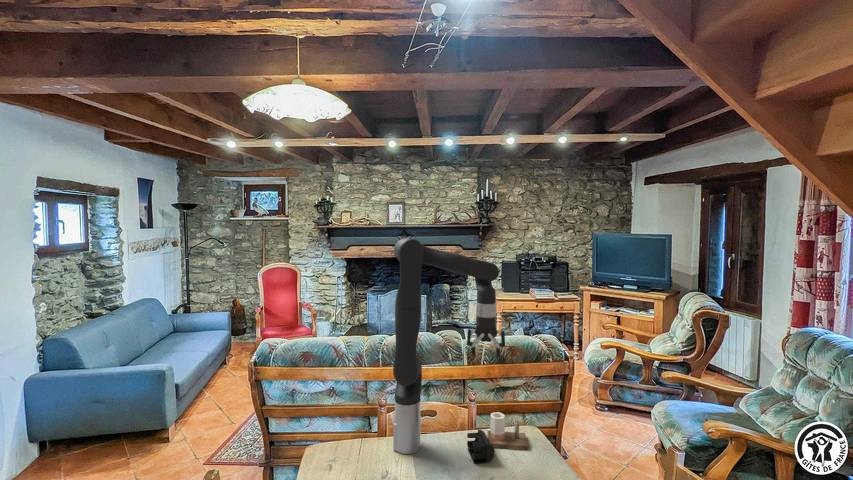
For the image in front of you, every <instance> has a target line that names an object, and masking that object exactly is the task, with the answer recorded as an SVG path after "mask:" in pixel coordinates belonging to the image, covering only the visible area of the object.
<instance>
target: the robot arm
mask: <svg viewBox="0 0 853 480" xmlns="http://www.w3.org/2000/svg"><path fill="white" fill-rule="evenodd" d="M393 254H394V256H395V258H396V260H398V262H399V273H400V276H399V283H398V288H397V292H396V297H395V300H394V301H395V303H394V305H395V307H394V323H395V324H394V327H395V330H394V331H395V333H394V335H395V351H394V361H393V366H392V373H393V374H392V375H393V377H394V380H395V381H396V385H395V386H396V387H395V392H394V422H393V424H392V426H393V428H392V430H393V432H392V433H393V435H392V436H393V443H392V445H393V446H392V447H393V452H398V453H399V454H403V455H411V454H415V453H417V452H418V451H420V449H421V394H422V386H423V384H422V381H423V380H422V379H423V378H422V377H423V376H422V375H423V365H422V361H421V359H420V357H419V356H417V345H418V344H417V343H418V338H419V334H420V327H421V321H422V283H421V281H422V279H421V277H422V269H423V265H428V266H432V267H435V268H437V269H441V270H444V271H447V272H449V273H453V274H457V275H461V276H469V277H472V278H474V282H475V287H476V309H475V315H476V316H475V329H471V328H469V327H468V329H467V338H466V345H467V346H470V347H471V356H473V358H474V357H475V358H476V346H477V345H478V344H479V342H482V343H484V342H487V343H490V342H492V343H493V344H494V345H495V358H496V359H498V358H499V357H500V356H501V348H505V347H506V336H505V335H506V333H505V330H504V329H501V330H500V329H499V330H497V304H496V303H497V302H496V301H497V300H496V299H497V298H496V297H497V293H496V289H495V288H494V287H493V284H492V282H493V281H495V280H497V278H499V275H500V269H499V267H498V266H497V264H495V263H493V262H489V261H485V260H480V259H475V258H473V257H470V256H466V255H463V254H460V253H456V252H451V251H446V250H444V251H443V250H440V249H435V248H432V247H428V246H425V245H423V244H422V243H421V242H420V241H419V240H417V239H416V238H412V237H411V238H410V237H404V238H401V239H399V240H398V241H397V242H396V243H395V245H394V247H393ZM474 334H475V335H476V337H475V338H474V340H473V341H471V340H472V338H471V337H472V336H473V335H474ZM497 335H498V336H499V337H501V339H500V342H499V341H498V340H497V338H496V336H497Z"/></svg>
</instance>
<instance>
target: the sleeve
mask: <svg viewBox="0 0 853 480" xmlns="http://www.w3.org/2000/svg"><path fill="white" fill-rule="evenodd" d="M505 416H506V415H505V414H504V413H502V412H498V411H497V412H491V413H490V431H491V434H490V435H491V438H492V439H494V440H503V439H505V432H506V431H505V429H506V428H505V427H506V426H505V425H506V424H505V421H506V420H505V419H506V417H505Z"/></svg>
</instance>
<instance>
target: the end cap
mask: <svg viewBox="0 0 853 480" xmlns="http://www.w3.org/2000/svg"><path fill="white" fill-rule="evenodd" d="M466 437H467V439H473V440H467V441H466V445H467V451H468V453H469V456H470V459H471V460H472V463H473V464H475V465H480V464H481V465H482V464H488V463H489V462H490V461H492V460H493V458H494V457H495V453H496V450H495V448H494V447H493V446H492V444H491V442H490V441H489V439H488V435H487V434H486V433H485V431H484V430H482V429H477V432H468V433H467V434H466Z"/></svg>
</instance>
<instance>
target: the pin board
mask: <svg viewBox="0 0 853 480" xmlns="http://www.w3.org/2000/svg"><path fill="white" fill-rule="evenodd" d="M490 434H491V430H487V437H488V439H489V441H490V442H491V444H492V446H493V447H494V449H506V450H520V451H521V450H522V451H529V444H528V443H529V442H528V438H527V436H526V433H525V432H520V423H519V422H517V421H516V422H515V423H514V431H505V439H503V440H494V439H492V438H491V435H490Z"/></svg>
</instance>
